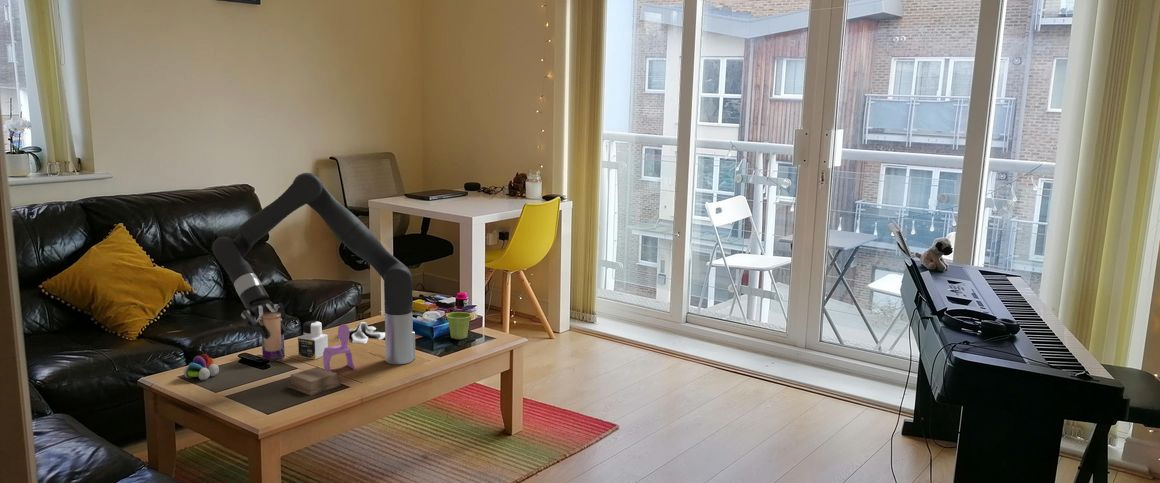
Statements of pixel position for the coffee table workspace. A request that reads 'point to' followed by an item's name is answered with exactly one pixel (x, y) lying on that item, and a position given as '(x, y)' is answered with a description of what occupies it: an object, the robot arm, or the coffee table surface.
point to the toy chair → (339, 348)
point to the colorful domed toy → (201, 368)
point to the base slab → (314, 380)
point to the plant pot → (458, 324)
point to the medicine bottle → (312, 340)
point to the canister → (272, 331)
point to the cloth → (364, 333)
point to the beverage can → (273, 352)
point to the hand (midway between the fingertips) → (276, 335)
